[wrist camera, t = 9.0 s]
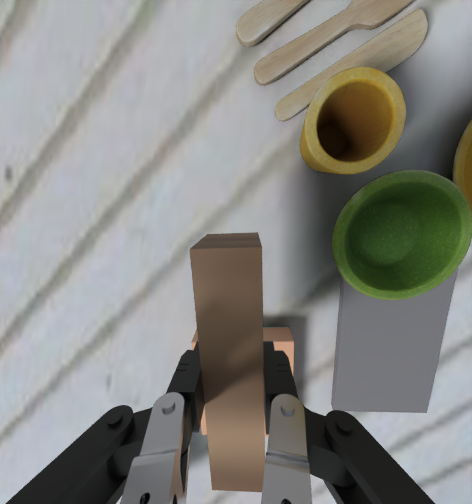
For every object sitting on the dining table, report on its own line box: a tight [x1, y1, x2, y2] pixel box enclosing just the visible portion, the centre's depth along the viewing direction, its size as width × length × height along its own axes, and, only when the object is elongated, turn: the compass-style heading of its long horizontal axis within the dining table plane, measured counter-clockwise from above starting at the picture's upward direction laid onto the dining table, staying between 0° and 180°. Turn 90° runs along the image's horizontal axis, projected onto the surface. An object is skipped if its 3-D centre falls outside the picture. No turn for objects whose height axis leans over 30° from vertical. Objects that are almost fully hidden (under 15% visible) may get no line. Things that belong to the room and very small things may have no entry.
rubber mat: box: [331, 267, 458, 413], centre depth 23 cm, size 18×10×1 cm, turn 2°
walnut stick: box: [190, 233, 265, 492], centre depth 13 cm, size 14×3×4 cm, turn 2°
